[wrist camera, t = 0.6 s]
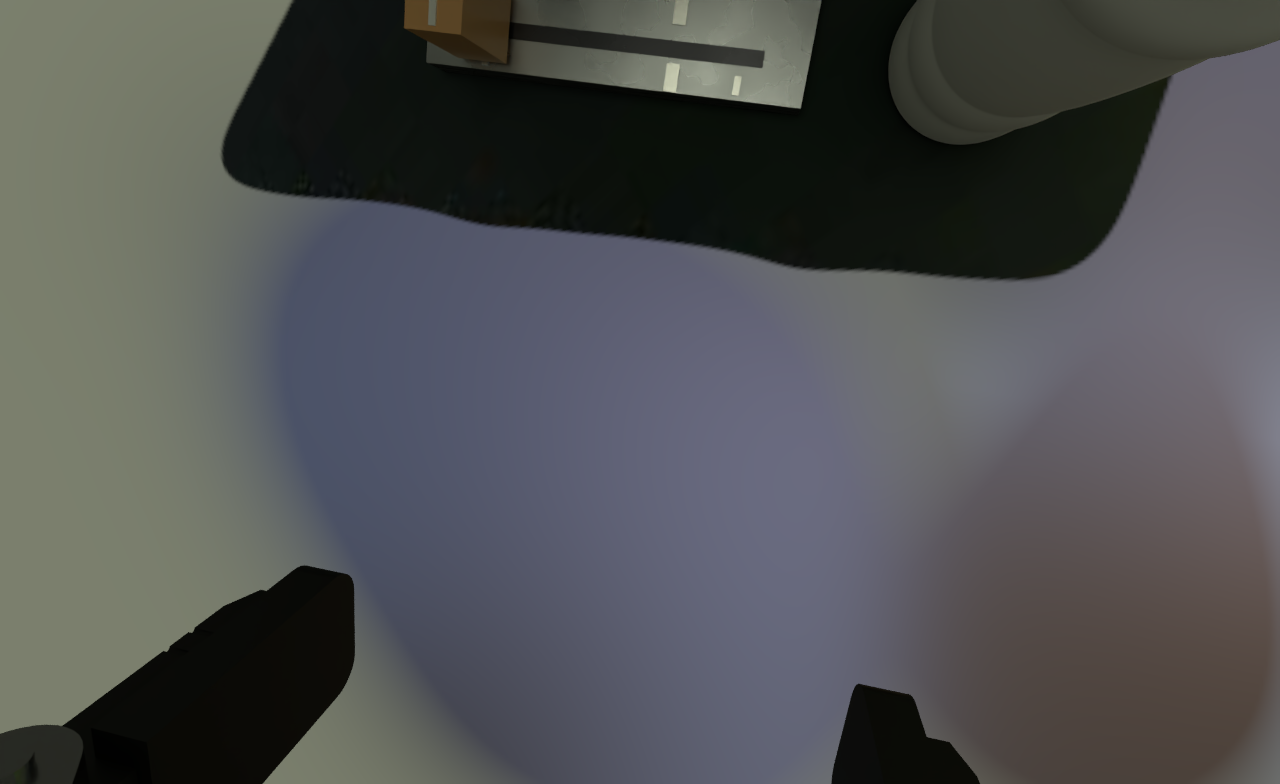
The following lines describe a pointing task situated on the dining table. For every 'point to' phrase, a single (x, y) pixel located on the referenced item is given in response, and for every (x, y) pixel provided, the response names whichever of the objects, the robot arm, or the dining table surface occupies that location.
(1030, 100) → the water bottle
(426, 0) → the fader
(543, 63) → the console
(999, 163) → the dining table surface
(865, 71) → the dining table surface
